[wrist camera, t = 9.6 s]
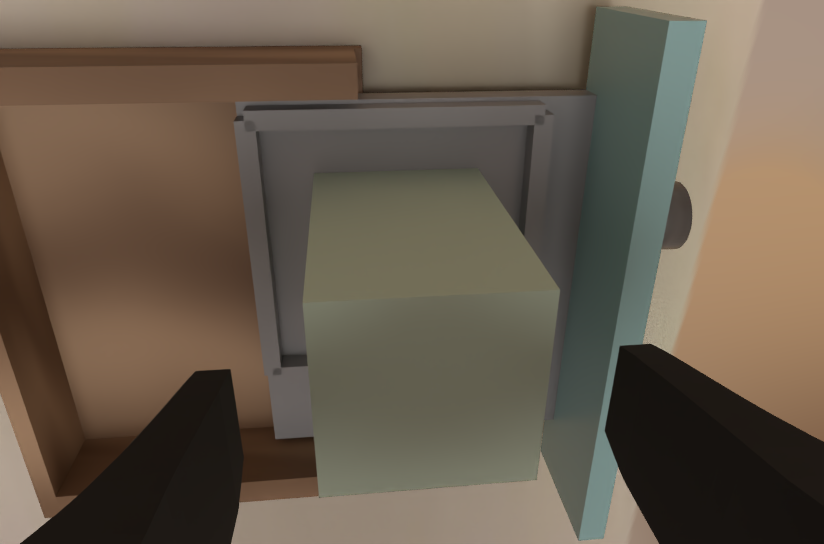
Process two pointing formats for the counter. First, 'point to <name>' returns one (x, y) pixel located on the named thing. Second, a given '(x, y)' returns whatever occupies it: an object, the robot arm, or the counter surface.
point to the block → (423, 333)
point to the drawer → (521, 197)
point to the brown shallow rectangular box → (137, 249)
